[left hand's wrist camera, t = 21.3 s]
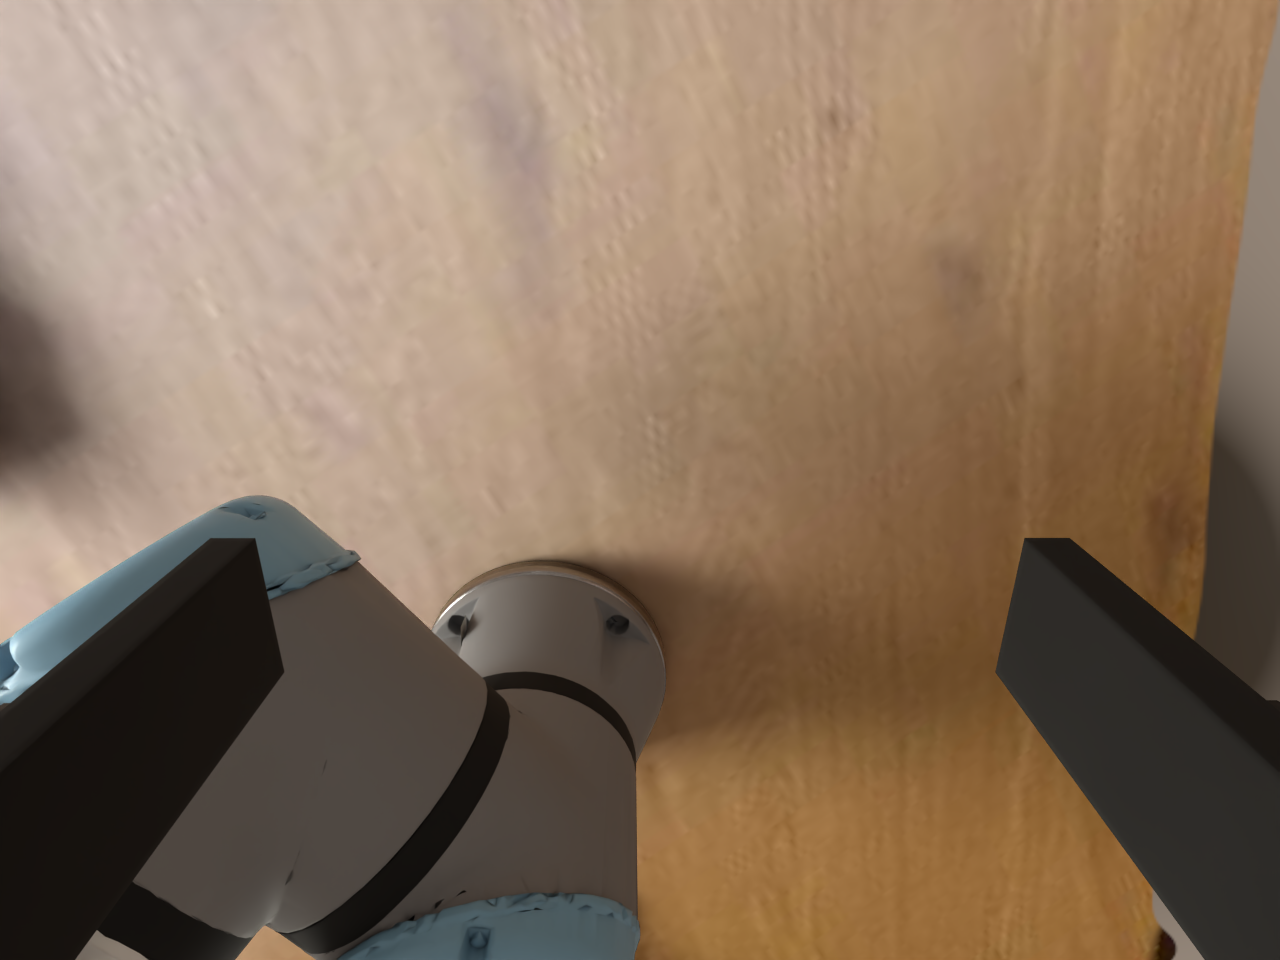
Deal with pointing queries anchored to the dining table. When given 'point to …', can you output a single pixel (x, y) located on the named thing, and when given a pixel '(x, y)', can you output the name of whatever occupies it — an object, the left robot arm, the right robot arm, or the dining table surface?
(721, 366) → the dining table surface
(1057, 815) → the dining table surface
